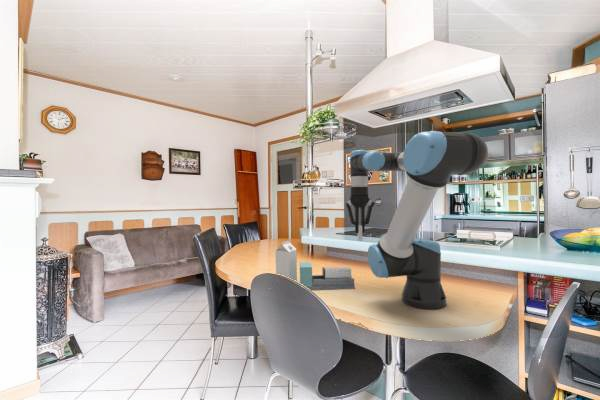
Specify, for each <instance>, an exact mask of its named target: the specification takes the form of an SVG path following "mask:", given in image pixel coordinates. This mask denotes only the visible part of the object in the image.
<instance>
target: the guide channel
mask: <svg viewBox="0 0 600 400" xmlns="http://www.w3.org/2000/svg"><path fill="white" fill-rule="evenodd" d="M307 288H309V289H311V290H310V291H322V290H323V291H324V290H325V291H326V290H327V291H328V290H329V291H330V290H355V289H356V285H355V278H354V277H352V274H351V278H340V279H323V276H322V274H318V275H317V274H312V287H307Z"/></svg>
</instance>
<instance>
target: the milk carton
mask: <svg viewBox="0 0 600 400" xmlns="http://www.w3.org/2000/svg"><path fill="white" fill-rule="evenodd" d="M297 254H298V253H297V248H296V247H295V246H294V245H293V244H292V243H291V240H286V241H282V242H281V245H280V246H279V247H278V248H277V249H276V250H275V275H276V274H280V275H284V276H286V277H289V278H291V279H293V280H296V281H297V282H298V264H297V263H298V260H297V259H298V257H297Z"/></svg>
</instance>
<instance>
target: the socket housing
mask: <svg viewBox="0 0 600 400" xmlns="http://www.w3.org/2000/svg"><path fill="white" fill-rule="evenodd" d="M312 275H313V266H312V262H310V261H309V262H307V261H306V262H299V284H300V283H301V284H303V285H304V286H306V287H312Z"/></svg>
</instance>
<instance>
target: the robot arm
mask: <svg viewBox="0 0 600 400" xmlns="http://www.w3.org/2000/svg"><path fill="white" fill-rule="evenodd" d="M488 150H489V149H488V146H487V143H486V142H485V140H484V139H483V138H481V137H480V136H479V135H477V134H474V133H472V132H471V133H470V132H458V131H457V132H453V131H439V130H430V131H421V132H419V133H416V134H415V135H413V136H412V137H411V138H410V139H409V140H408V142H407V144H406V146H405V147H404V151H399V152H384V151H383V152H382V151H379V150H372V151H367V150H366V149H357V150H356V149H355V150H352V151H351V152H350V153H349V154H350V158H349V163H350V167H349V168H350V170H349V171H350V172H349V173H350V186H351V187H350V197H349V200H348V201H347V202H344V205H345V207H346V209H347V213H348V217H349V221H350V224H352V225H354V230H355V231H354V232H355V234H357V241H359V242H362V241H363V234H364V233H365V232H366V231H365V226H366V225H368V224H369V223H370V219H371V215H372V211H373V207H374V206H375V202H374V201H372V200H370V197H369V187H368V186H369V172H405V174H406V176H407V178H408V180H407V182H406V185H405V187H404V190H403V192H402V194H401V196H400V197H401V198H399V202H398V204H397V207H396V210H395V212H394V214H393V217H392V219H391V222H390V225H389V227H388V229H387V231H386V233H383V234H382V235H381V236H380V238H379V240H378V242H377V244H374V243H373V244H371V245H369V246H368V248H367V261H368V265H369V268H370V271H371V272H372V273H373V274H374V276H375V277H377V278H380V279H381V278H382V279H383V278H386V279H388V278H395V277H406V281H405V284H404V286H403V289H402V291H401V300H402V302H403V303H404V304H406V305H407V306H411V307H413V308H418V309H424V310H437V309H442V308H445V307H446V306H447V297H446V294H445V291H444V288H443V286H442V282H441V281H442V280H441V277H442V275H441V273H442V272H441V265H442V264H441V263H442V262H441V261H442V260H441V259H442V258H441V257H442V253H441V245H440V243H439V242H437V241H435V240H430V239H424V238H417V237H416V236H417V234H418V231H419V229H420V227H421V225H422V223H423V221H424V219H425V217H426V215H427V212H428V210H429V209H430V206H431V204H432V202H433V200H434V198H435V196H436V194H437V192H438V190H439V189H442V188H444V187H446V186H447V185H448V182H449V180H450V178H451V177H452V176H453V175H467V174H473V173H474V172H476V171H478V170H480V168H483V166H484V164H485V163H486V161H487V159H488V154H489V151H488ZM351 205H352V206H353V207H354V215H353V212H352V207H351ZM367 205H368V206H367ZM366 206H367V210H366V212H365V209H366V208H365V207H366ZM359 212H360V213H359ZM365 213H366V214H365ZM359 214H360V215H359ZM359 219H360V220H359Z"/></svg>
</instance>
